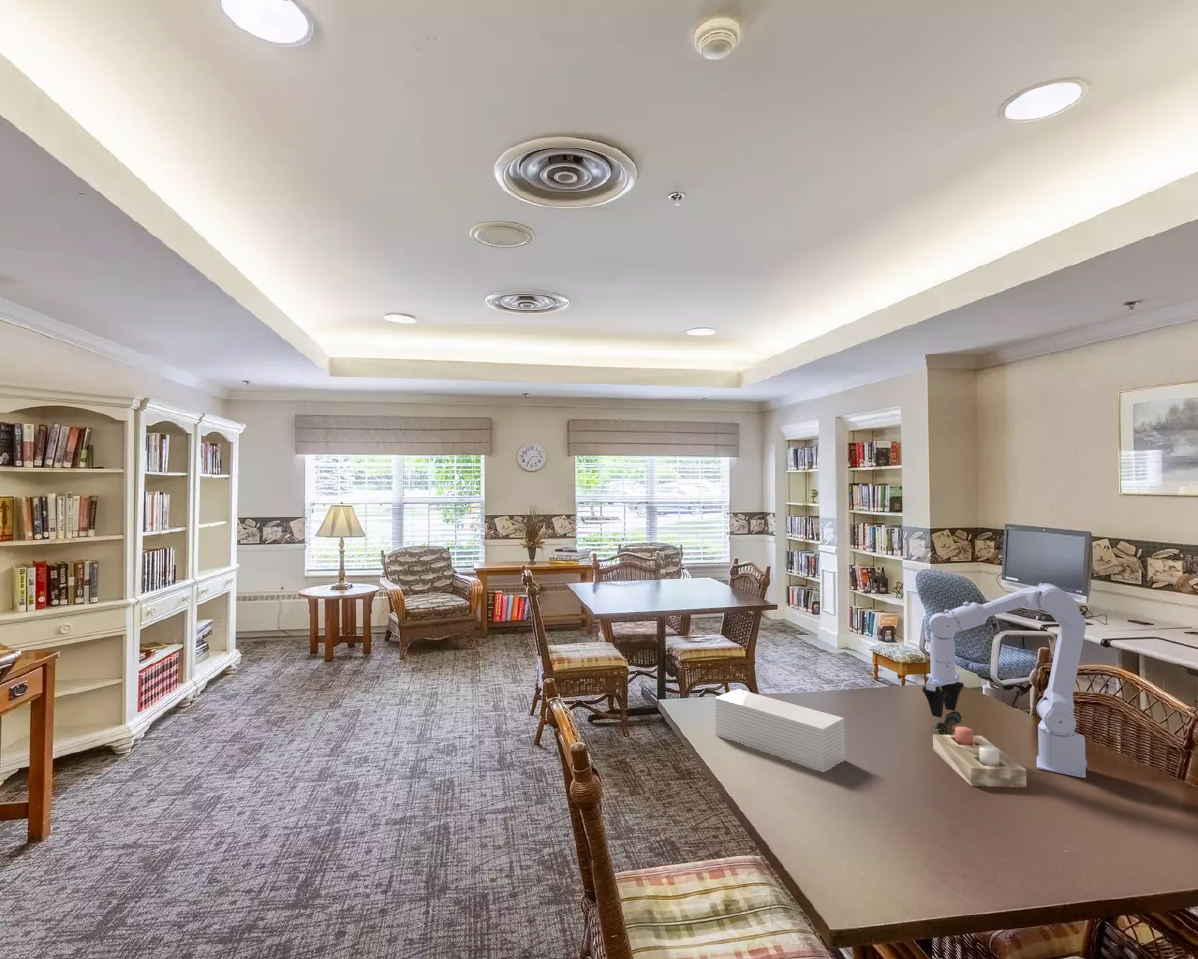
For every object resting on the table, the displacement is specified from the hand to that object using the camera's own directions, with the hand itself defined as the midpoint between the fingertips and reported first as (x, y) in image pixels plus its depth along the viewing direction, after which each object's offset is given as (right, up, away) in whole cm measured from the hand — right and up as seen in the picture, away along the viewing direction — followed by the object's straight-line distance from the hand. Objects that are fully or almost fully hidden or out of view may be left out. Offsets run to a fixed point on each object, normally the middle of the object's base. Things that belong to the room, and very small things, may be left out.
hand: (943, 712), depth 165 cm
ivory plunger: (+2, -7, -16) cm, 18 cm away
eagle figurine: (+7, -10, +10) cm, 16 cm away
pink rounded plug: (+3, -7, -4) cm, 9 cm away
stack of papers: (-42, -11, +3) cm, 44 cm away
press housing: (+3, -10, -10) cm, 14 cm away
